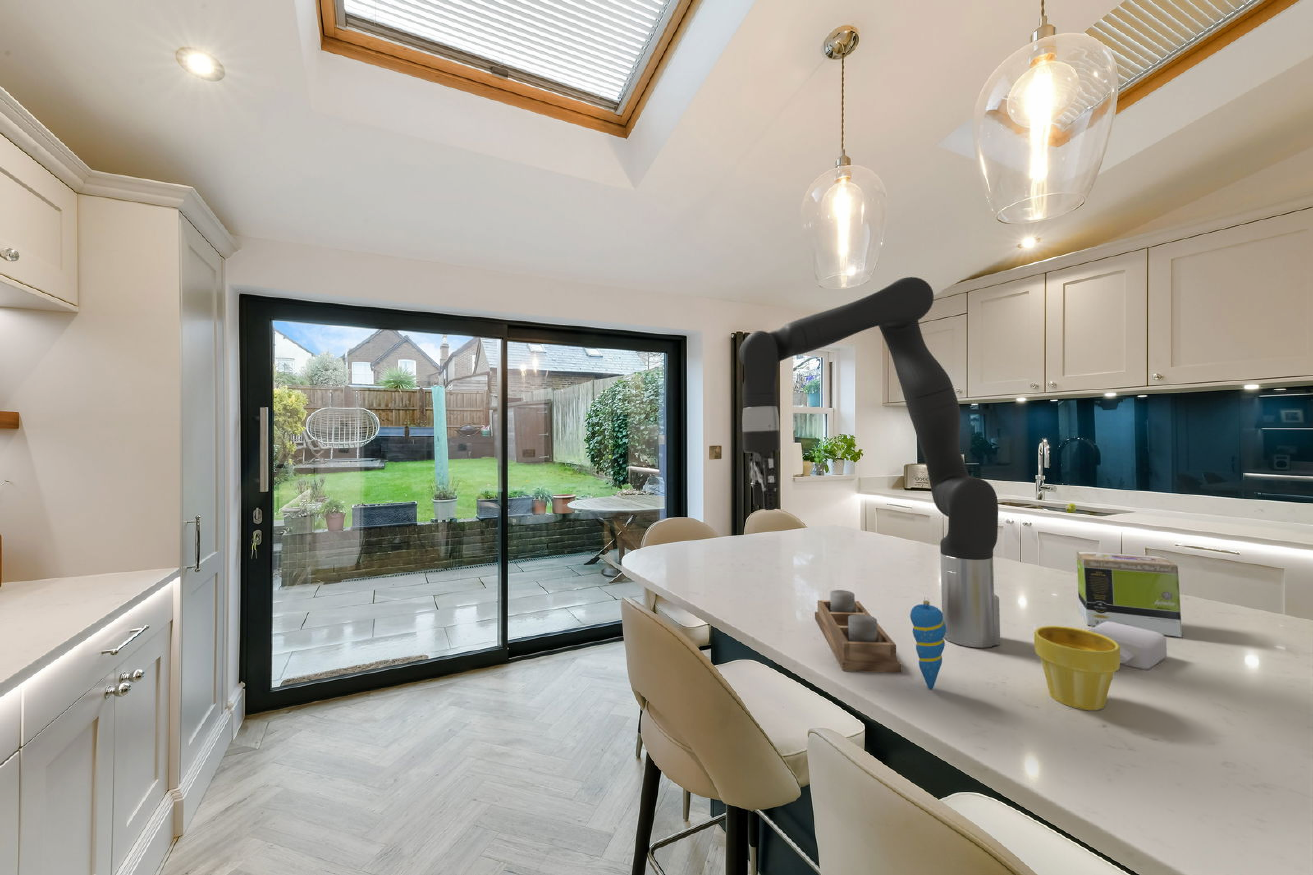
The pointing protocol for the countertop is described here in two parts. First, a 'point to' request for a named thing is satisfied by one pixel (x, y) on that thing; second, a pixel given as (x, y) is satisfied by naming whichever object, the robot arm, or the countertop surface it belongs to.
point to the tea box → (1129, 591)
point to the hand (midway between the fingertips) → (764, 507)
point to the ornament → (928, 639)
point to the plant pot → (1077, 665)
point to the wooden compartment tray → (855, 635)
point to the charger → (1135, 644)
